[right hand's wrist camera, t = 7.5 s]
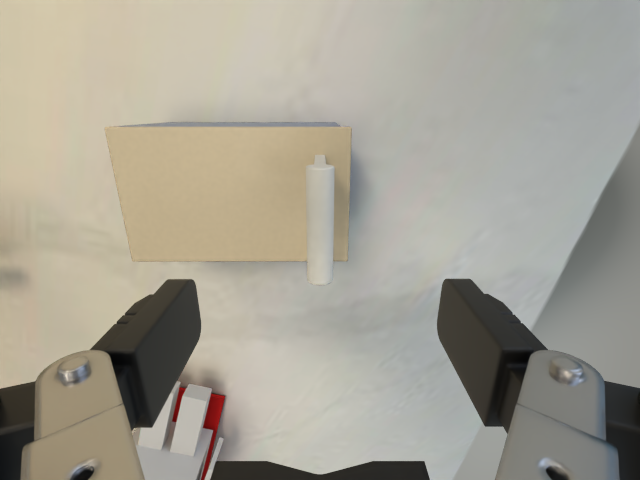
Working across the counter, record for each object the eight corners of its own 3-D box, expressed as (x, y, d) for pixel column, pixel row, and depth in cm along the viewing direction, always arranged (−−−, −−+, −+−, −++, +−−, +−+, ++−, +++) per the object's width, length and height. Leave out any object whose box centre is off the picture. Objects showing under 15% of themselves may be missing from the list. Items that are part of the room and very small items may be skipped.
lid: (350, 126, 24) (364, 133, 16) (346, 257, 27) (356, 311, 20) (111, 126, 24) (17, 133, 16) (137, 257, 27) (69, 311, 20)
